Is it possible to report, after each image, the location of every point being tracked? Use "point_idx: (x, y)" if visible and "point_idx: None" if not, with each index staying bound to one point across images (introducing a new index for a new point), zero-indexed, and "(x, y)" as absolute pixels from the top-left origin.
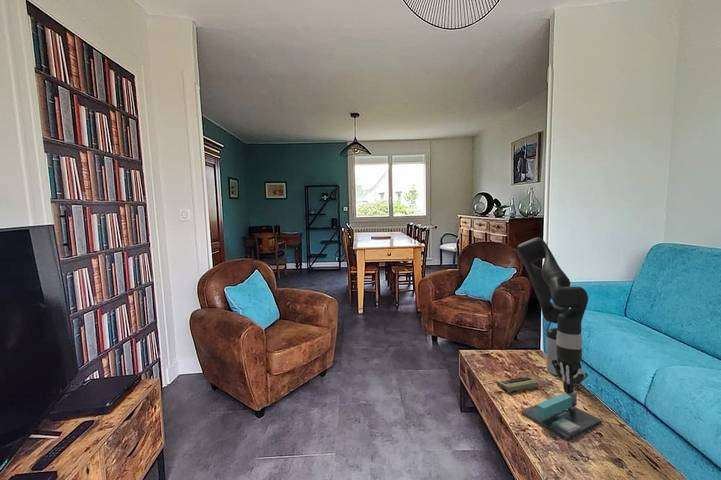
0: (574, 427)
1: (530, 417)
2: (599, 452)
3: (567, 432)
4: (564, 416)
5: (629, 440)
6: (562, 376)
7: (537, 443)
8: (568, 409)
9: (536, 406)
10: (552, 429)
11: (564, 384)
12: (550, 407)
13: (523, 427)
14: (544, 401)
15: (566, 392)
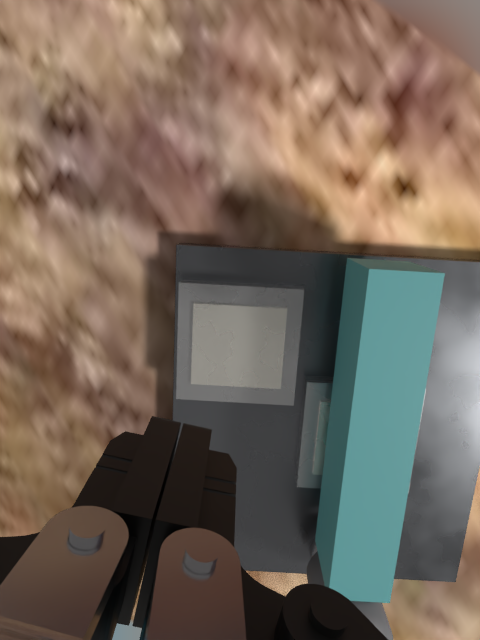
0: (191, 358)
1: (439, 258)
2: (31, 297)
3: (193, 281)
4: (301, 429)
5: (23, 518)
6: (239, 627)
7: (261, 48)
8: None
9: (436, 271)
10: (276, 250)
11: (197, 493)
12: (354, 350)
13: (413, 128)
14: (424, 375)
15: (173, 421)
